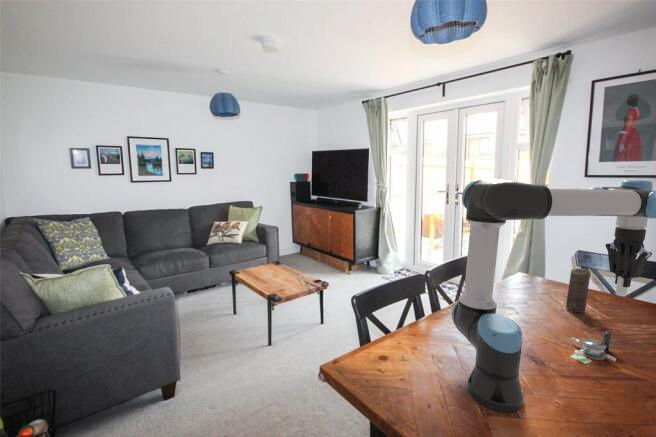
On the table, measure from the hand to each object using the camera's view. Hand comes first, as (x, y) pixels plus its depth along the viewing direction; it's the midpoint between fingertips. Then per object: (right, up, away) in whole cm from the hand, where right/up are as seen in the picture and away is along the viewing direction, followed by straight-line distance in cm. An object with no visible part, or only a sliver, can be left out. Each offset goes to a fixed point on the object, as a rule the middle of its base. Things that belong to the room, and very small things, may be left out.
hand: (620, 294), depth 113 cm
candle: (+16, -17, +42) cm, 48 cm away
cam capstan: (-5, -22, +6) cm, 24 cm away
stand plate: (-4, -24, +6) cm, 25 cm away
